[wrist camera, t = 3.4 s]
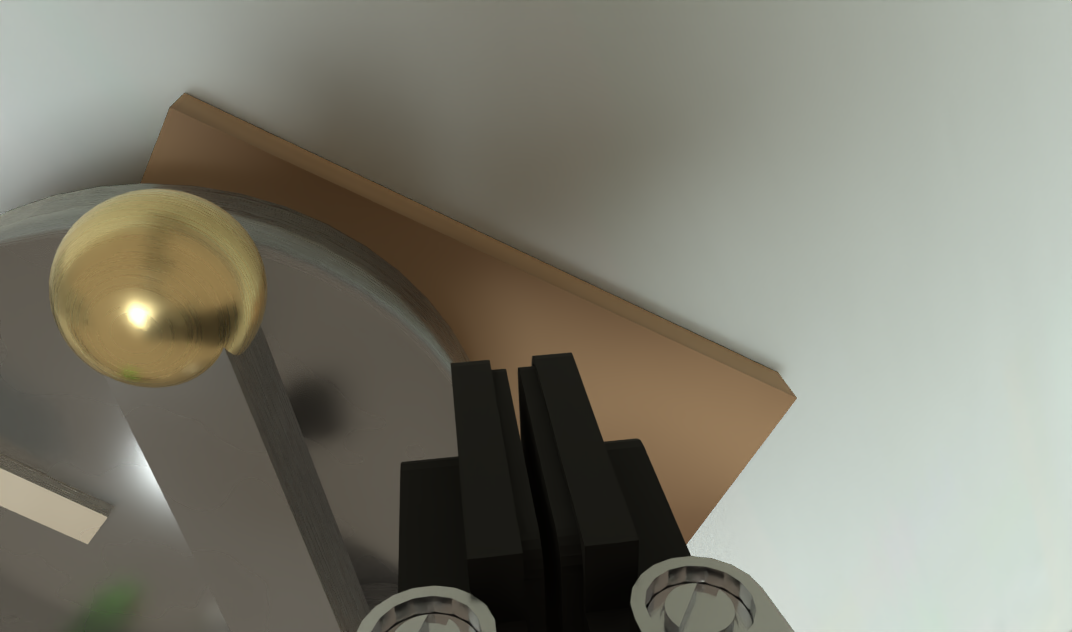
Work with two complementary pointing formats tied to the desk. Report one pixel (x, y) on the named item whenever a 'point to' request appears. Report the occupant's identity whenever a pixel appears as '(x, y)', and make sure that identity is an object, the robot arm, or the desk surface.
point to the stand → (512, 307)
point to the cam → (206, 414)
